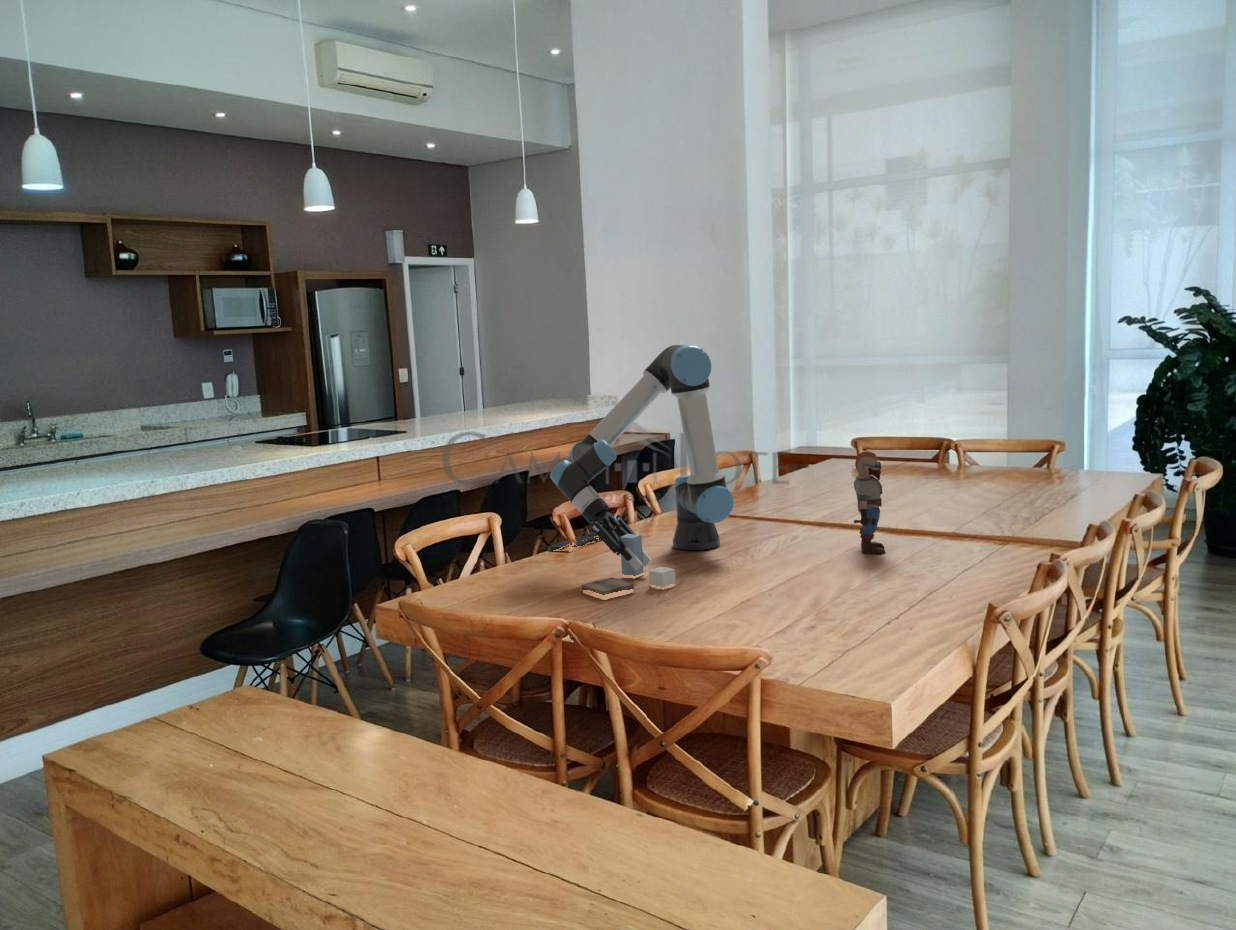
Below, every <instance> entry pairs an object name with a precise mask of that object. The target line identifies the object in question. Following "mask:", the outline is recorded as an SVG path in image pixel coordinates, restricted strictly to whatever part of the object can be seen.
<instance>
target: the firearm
mask: <svg viewBox="0 0 1236 930" xmlns="http://www.w3.org/2000/svg"><path fill="white" fill-rule="evenodd" d="M594 536H597V534H596V533H595V532H593V531H591V532H587V533H585V534H584V535H579V536H577V537H574V538H575V539H576V540H577V542H576V543H575V542H574V543H575V544H576V545H577V546H583V545H585V544H586V543H588V542H592V541H597V540H598V539H596V538H599V540H600V539H601V538H600V537H595V538H594ZM586 539H587V540H586ZM582 540H584V541H582ZM600 541H601V540H600ZM597 542H598V541H597ZM568 543H569V541H567V540H565V541H564V540H563V541H560V542H557V543H555V544H551V545H548V546H547V547H546V550H547V551H548V552H553V551H552V550H556V549H559V548H561V547H563V546H566V545H567V544H568ZM570 545H572V543H570ZM576 545H574V546H572V547H577V546H576ZM566 547H569V545H568V546H566ZM566 547H563V548H562V549H564V548H566ZM562 549H560V550H562Z"/></svg>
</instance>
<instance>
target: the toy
mask: <svg viewBox="0 0 1236 930" xmlns="http://www.w3.org/2000/svg"><path fill="white" fill-rule="evenodd" d="M855 458H856V459H855V463H854V464H855V465H854V466H855V468H856V470H857V473H858V475H857V476H855V480H854V482H853V489H854V491H855V493H856V499H857V510H858V511H857V512H858V513H860V520H859V519H854V520H853V523H854V524H859V523H860V525H862V526H861V527H859V534H860V537H859V538H860V539H861V541H860V548H861V553H862V554H869V555H871V554H873V555H885V554H887V552H886V550H885V546H884V544H883V543H881V542H878V541H873V540H874V539H875V532H876V530H877V528H878V524H879V521H880V515H881V514H880V513H881V509H880V508H882V506H883V504H882V497H881V495H882V494H883V486H882V484H881V482H880V479H881V473H882V463H881V461H878V458H877V454H876V453H875V452H870V451H862V452H860V453H858V454H857V455H856V457H855Z"/></svg>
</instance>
